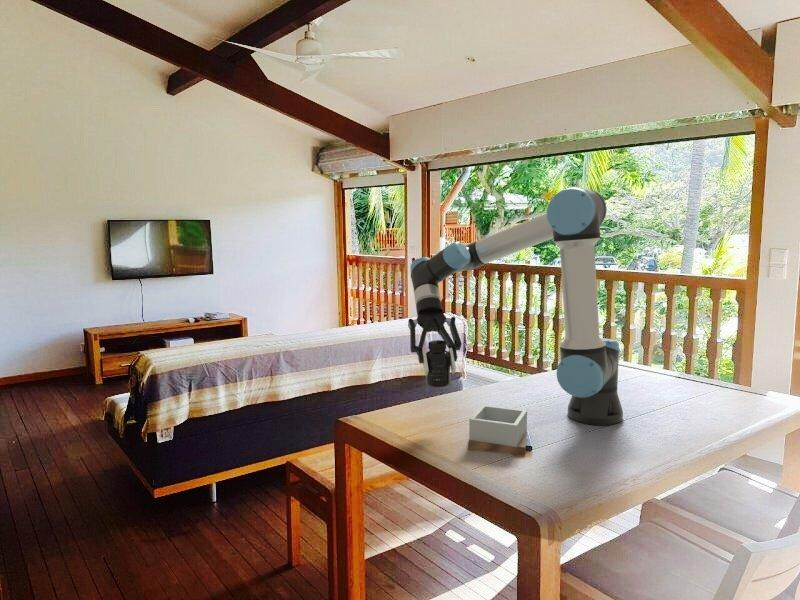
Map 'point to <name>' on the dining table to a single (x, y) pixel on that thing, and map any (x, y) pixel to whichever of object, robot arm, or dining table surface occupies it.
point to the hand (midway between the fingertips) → (440, 371)
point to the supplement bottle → (438, 364)
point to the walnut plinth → (498, 446)
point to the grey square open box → (498, 425)
